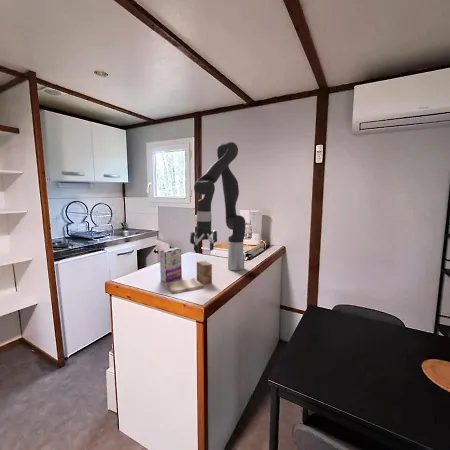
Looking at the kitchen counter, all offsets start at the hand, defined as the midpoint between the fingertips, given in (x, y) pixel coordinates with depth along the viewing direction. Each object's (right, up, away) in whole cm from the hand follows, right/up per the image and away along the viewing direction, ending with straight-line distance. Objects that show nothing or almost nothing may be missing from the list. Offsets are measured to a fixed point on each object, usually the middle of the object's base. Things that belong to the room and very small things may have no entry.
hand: (203, 251), depth 133 cm
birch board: (-9, -17, -6) cm, 20 cm away
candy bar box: (-18, -16, +5) cm, 25 cm away
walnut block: (0, -16, +2) cm, 16 cm away
